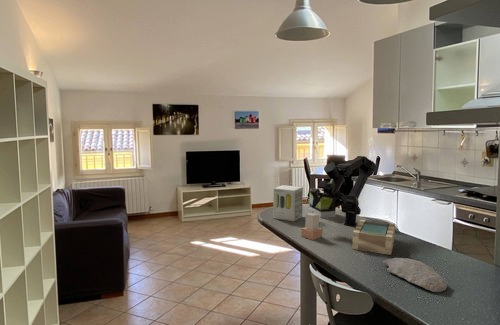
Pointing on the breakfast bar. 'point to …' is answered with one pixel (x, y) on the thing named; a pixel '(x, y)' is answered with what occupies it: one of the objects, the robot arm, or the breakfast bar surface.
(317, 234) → the plinth
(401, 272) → the stone
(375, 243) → the trapdoor box
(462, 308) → the breakfast bar surface
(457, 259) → the breakfast bar surface
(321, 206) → the tea box
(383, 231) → the trapdoor
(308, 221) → the stone pillar
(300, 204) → the supplement box
